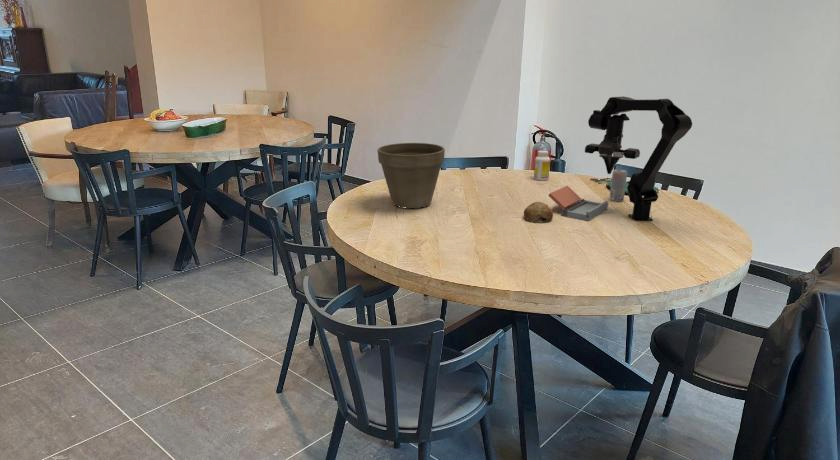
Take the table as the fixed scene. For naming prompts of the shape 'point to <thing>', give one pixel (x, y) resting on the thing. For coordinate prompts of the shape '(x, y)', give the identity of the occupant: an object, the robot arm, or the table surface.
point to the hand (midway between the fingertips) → (609, 173)
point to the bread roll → (538, 212)
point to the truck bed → (588, 210)
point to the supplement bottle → (542, 166)
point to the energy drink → (618, 185)
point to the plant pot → (411, 172)
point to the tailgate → (564, 197)
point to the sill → (573, 207)
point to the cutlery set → (610, 184)
